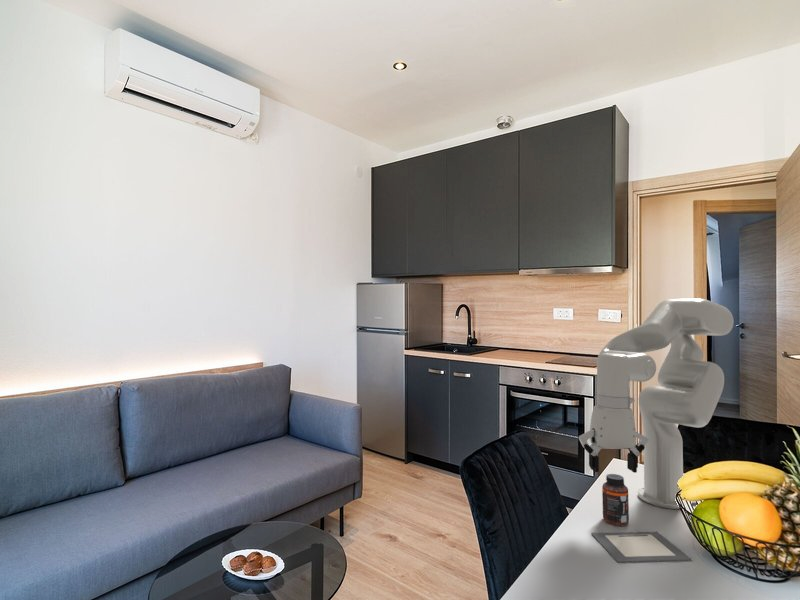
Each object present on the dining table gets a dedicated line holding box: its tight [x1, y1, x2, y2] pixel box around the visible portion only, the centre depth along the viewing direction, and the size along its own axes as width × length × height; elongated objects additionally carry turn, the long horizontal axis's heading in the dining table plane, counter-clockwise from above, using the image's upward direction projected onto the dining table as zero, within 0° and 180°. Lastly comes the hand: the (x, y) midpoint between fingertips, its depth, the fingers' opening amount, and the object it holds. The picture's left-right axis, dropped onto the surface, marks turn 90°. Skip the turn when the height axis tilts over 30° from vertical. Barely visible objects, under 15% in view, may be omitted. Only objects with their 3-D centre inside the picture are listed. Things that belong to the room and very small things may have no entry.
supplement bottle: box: [601, 473, 630, 527], centre depth 113 cm, size 6×6×11 cm
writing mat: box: [591, 530, 693, 564], centre depth 101 cm, size 16×12×1 cm
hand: (613, 470), depth 112 cm, fingers open, 9 cm apart
